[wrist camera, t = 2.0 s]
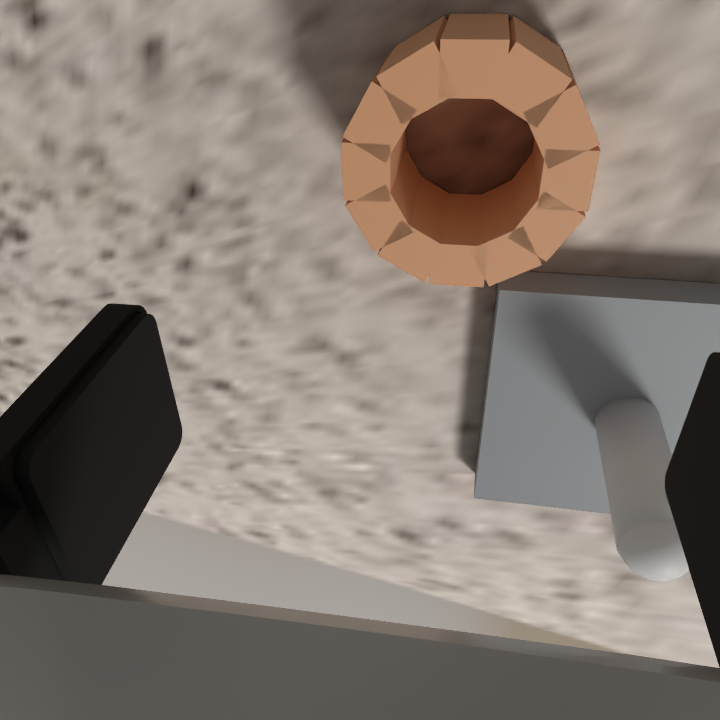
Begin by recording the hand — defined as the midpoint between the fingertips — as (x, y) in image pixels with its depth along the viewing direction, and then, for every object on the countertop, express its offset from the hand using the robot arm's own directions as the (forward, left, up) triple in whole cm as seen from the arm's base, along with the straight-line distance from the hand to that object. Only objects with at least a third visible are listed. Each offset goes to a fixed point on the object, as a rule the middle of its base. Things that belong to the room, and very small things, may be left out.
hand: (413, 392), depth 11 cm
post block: (+10, +7, -13) cm, 18 cm away
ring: (-1, 0, -13) cm, 13 cm away
